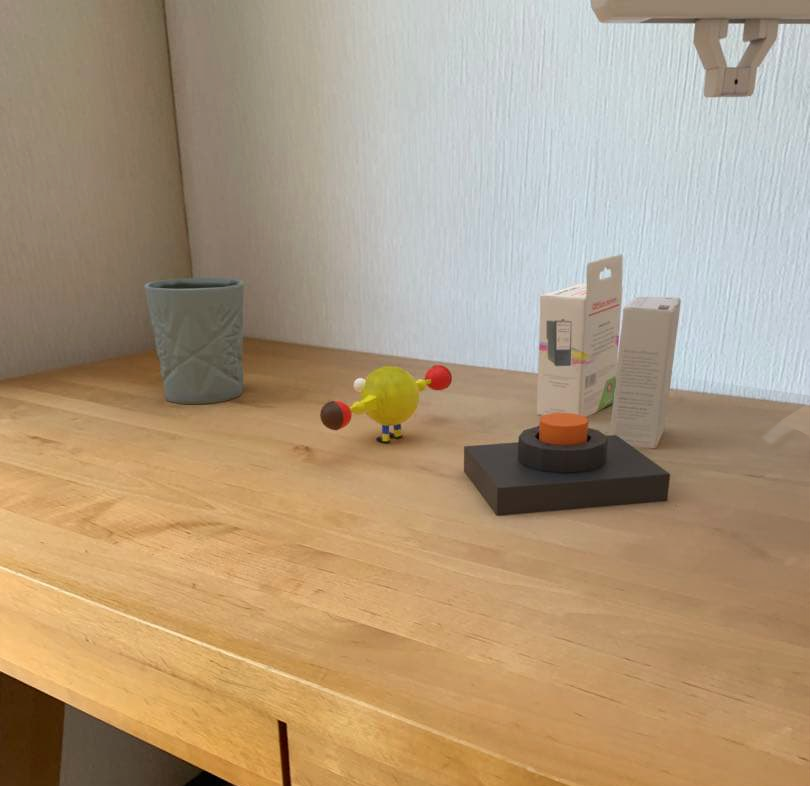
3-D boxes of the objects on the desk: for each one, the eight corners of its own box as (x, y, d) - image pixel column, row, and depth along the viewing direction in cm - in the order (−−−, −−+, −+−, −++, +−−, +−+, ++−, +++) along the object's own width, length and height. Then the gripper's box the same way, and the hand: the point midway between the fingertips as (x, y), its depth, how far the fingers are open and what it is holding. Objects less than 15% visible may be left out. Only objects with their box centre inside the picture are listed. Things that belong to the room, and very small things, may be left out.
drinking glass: (141, 396, 97) (125, 284, 92) (214, 379, 104) (203, 274, 99) (197, 410, 91) (183, 291, 86) (271, 391, 98) (262, 280, 93)
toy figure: (420, 413, 88) (419, 345, 85) (467, 421, 85) (468, 351, 82) (301, 461, 75) (295, 383, 72) (352, 473, 72) (348, 392, 69)
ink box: (571, 396, 93) (580, 250, 87) (616, 403, 90) (627, 253, 84) (533, 415, 87) (539, 259, 81) (579, 422, 84) (589, 262, 78)
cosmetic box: (618, 427, 82) (629, 294, 77) (667, 431, 81) (682, 296, 76) (607, 446, 77) (618, 305, 72) (659, 451, 75) (674, 307, 71)
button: (577, 433, 69) (578, 411, 68) (594, 446, 65) (595, 424, 65) (532, 436, 68) (533, 414, 67) (547, 450, 65) (548, 427, 64)
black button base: (614, 459, 74) (617, 413, 72) (667, 501, 65) (673, 449, 63) (463, 471, 72) (464, 424, 70) (496, 516, 63) (498, 463, 61)
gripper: (869, -125, 61) (834, 98, 66) (588, -134, 58) (576, 101, 63) (935, -155, 55) (890, 92, 61) (627, -167, 52) (610, 95, 57)
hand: (728, 97), depth 62 cm, fingers closed
